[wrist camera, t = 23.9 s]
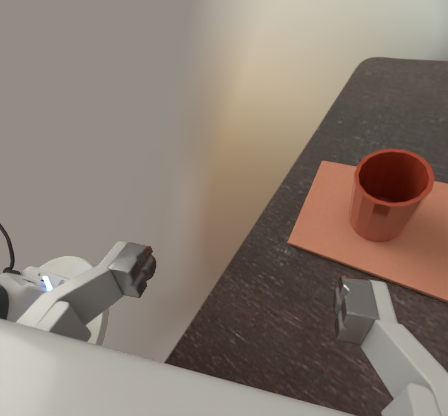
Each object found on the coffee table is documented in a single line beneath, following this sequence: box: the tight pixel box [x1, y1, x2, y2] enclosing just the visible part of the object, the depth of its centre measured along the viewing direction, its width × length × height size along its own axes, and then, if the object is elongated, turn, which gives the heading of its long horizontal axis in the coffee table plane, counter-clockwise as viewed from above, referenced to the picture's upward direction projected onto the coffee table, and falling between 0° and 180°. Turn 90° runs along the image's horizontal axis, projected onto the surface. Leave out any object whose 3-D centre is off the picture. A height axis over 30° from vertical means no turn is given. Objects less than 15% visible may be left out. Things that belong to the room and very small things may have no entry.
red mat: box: [288, 161, 448, 303], centre depth 33 cm, size 18×14×1 cm
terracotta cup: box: [349, 148, 435, 242], centre depth 28 cm, size 6×6×10 cm
